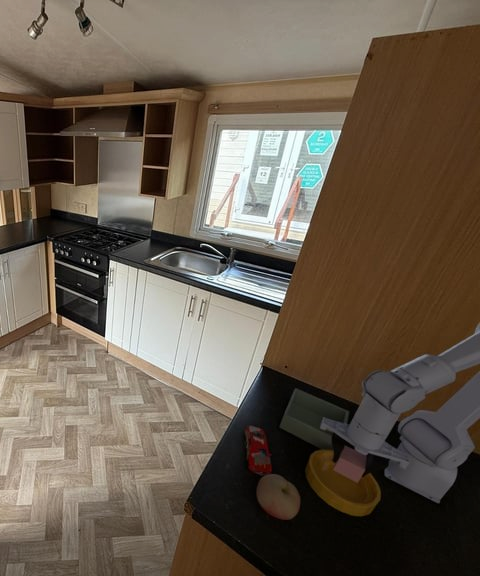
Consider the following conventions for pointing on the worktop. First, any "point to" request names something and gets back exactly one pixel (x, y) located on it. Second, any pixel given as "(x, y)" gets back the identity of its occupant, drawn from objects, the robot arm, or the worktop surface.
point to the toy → (351, 464)
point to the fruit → (278, 497)
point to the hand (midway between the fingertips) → (347, 466)
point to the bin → (311, 418)
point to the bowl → (341, 486)
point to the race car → (257, 451)
